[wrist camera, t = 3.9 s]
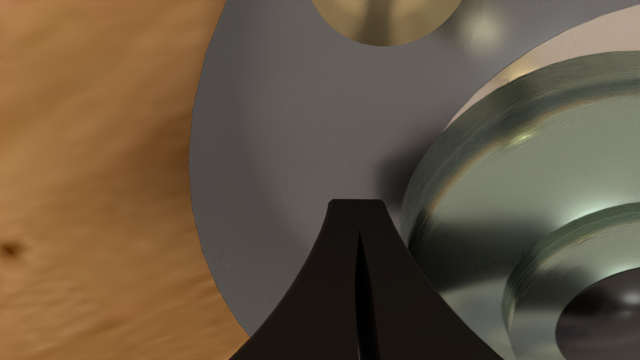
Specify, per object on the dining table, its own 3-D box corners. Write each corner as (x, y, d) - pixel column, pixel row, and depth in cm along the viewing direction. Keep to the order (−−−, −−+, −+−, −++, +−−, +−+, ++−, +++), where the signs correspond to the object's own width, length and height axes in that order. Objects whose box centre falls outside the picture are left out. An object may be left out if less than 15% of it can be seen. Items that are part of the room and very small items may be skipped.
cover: (692, 343, 17) (763, 454, 14) (386, 336, 17) (396, 444, 14) (859, 54, 12) (1025, 136, 9) (418, 46, 12) (442, 126, 9)
